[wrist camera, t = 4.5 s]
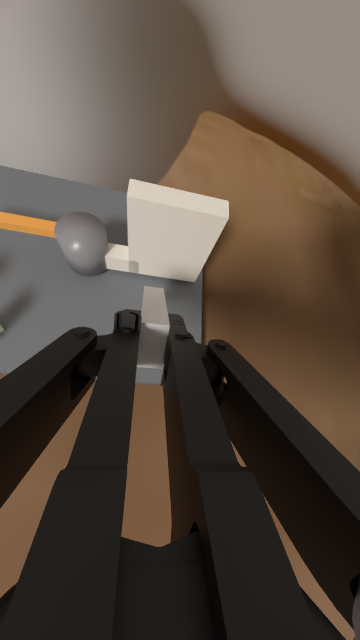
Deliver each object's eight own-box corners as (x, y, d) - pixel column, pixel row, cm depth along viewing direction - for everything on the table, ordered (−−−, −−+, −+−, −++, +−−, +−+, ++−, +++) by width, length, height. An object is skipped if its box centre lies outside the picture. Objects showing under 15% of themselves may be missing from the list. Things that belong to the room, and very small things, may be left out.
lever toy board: (199, 221, 30) (221, 162, 22) (194, 387, 22) (226, 381, 15) (5, 181, 26) (-46, 94, 18) (-86, 368, 18) (-237, 346, 11)
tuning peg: (195, 260, 24) (227, 189, 16) (194, 292, 23) (229, 231, 15) (-28, 222, 21) (-135, 102, 12) (-46, 256, 19) (-181, 148, 11)
